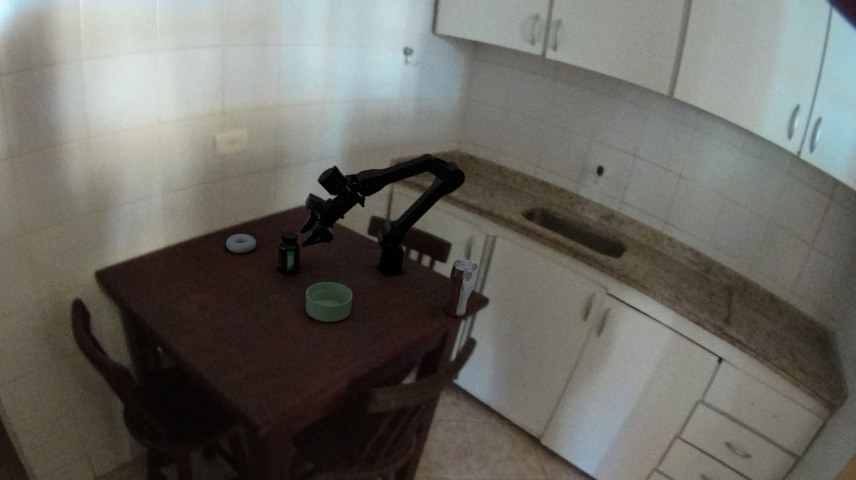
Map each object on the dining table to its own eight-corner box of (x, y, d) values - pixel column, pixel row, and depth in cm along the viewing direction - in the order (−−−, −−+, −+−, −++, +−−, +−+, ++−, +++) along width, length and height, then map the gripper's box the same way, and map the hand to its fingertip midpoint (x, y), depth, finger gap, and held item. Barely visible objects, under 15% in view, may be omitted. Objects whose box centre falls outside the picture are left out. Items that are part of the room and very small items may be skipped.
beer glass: (463, 320, 172) (473, 273, 163) (439, 312, 175) (448, 266, 166) (471, 309, 177) (482, 263, 168) (448, 302, 180) (457, 256, 171)
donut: (224, 254, 199) (255, 255, 199) (223, 245, 197) (254, 245, 197) (228, 241, 207) (257, 241, 207) (227, 231, 205) (257, 232, 205)
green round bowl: (338, 294, 181) (339, 278, 178) (359, 317, 172) (360, 300, 168) (298, 303, 177) (298, 287, 173) (317, 327, 167) (318, 310, 164)
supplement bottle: (294, 276, 189) (295, 241, 182) (274, 271, 191) (274, 236, 184) (302, 266, 194) (304, 232, 187) (283, 262, 196) (283, 227, 189)
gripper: (320, 174, 185) (282, 208, 190) (324, 199, 170) (284, 235, 175) (344, 199, 190) (307, 232, 196) (350, 225, 175) (310, 259, 181)
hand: (301, 238), depth 187 cm, fingers open, 9 cm apart
